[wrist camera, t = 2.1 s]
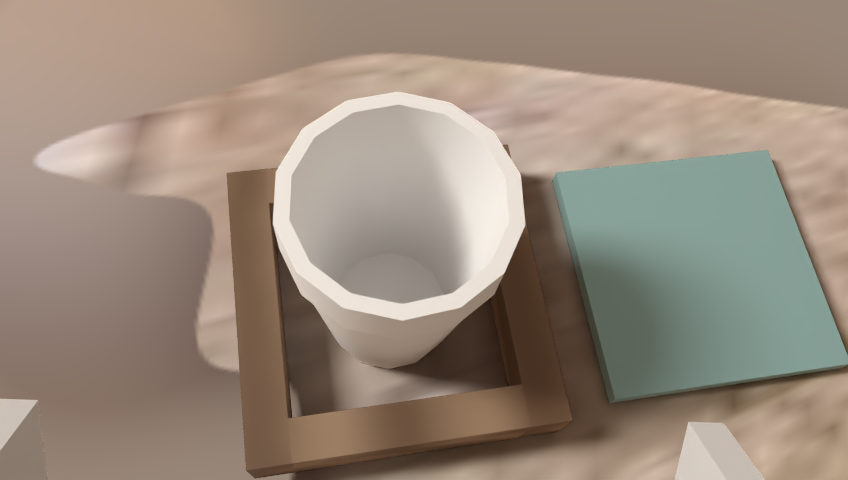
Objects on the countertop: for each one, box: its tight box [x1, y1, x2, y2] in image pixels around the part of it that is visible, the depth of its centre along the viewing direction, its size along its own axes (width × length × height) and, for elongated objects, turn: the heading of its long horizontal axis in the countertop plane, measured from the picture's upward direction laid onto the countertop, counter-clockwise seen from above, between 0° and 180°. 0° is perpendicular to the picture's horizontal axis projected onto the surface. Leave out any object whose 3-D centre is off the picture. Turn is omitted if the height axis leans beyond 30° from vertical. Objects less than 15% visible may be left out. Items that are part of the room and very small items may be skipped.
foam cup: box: [273, 92, 525, 369], centre depth 34 cm, size 10×9×13 cm
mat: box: [552, 150, 848, 403], centre depth 42 cm, size 13×13×1 cm
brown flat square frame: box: [227, 145, 573, 478], centre depth 39 cm, size 15×15×3 cm
